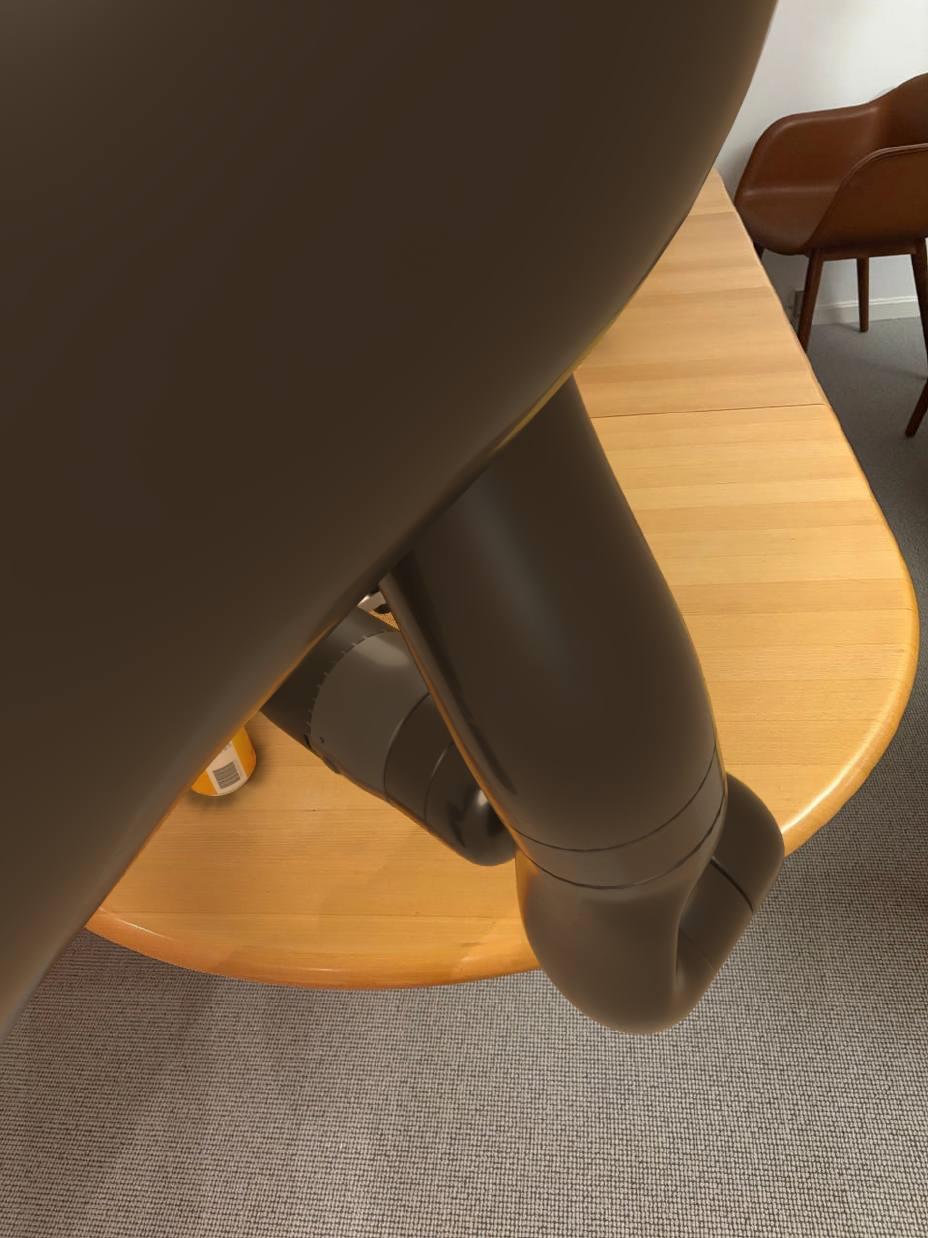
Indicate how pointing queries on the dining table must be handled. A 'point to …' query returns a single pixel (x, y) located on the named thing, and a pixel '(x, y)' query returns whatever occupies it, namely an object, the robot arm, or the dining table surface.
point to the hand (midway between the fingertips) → (197, 586)
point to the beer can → (228, 768)
